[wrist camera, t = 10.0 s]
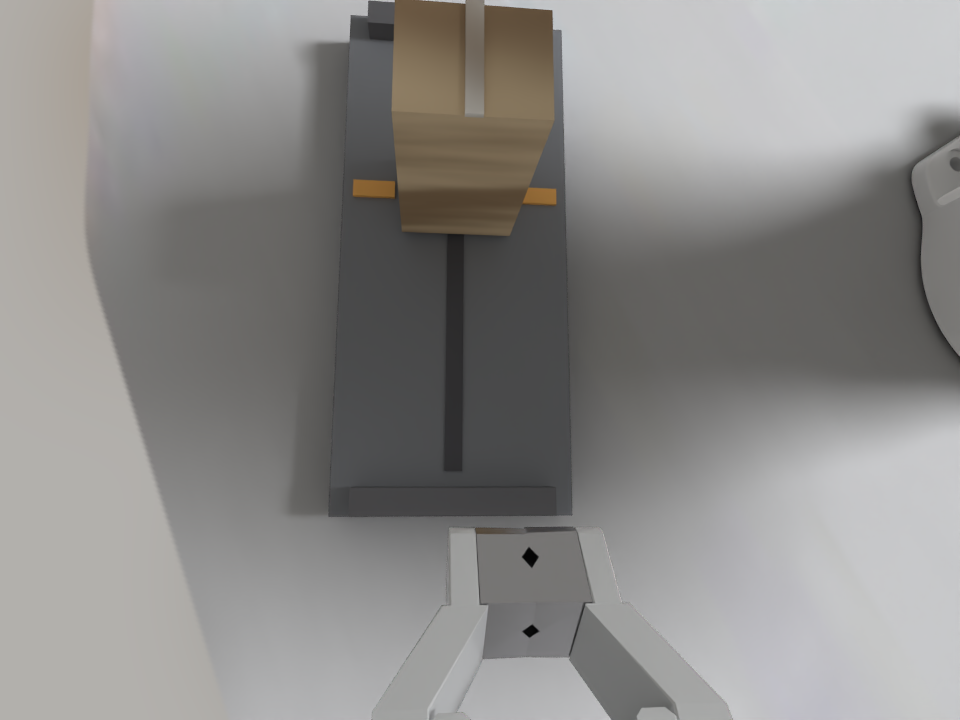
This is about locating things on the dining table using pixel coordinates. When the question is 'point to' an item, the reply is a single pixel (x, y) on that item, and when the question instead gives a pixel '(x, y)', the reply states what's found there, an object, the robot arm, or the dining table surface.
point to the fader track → (446, 331)
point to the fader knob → (469, 112)
